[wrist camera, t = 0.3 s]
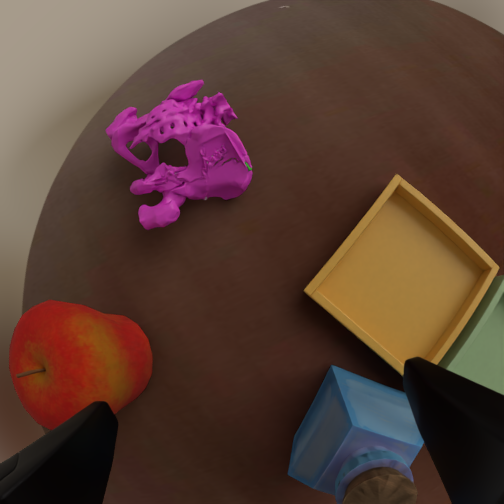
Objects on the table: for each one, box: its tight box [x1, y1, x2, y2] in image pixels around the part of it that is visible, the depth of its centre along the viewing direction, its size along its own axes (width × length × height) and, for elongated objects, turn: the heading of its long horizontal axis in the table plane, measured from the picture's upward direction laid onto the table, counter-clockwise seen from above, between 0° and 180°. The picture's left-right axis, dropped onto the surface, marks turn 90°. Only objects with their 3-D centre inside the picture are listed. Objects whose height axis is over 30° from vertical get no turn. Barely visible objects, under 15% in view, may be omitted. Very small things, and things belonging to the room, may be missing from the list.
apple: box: [9, 300, 153, 430], centre depth 19 cm, size 9×8×12 cm
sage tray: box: [437, 275, 504, 395], centre depth 18 cm, size 11×11×2 cm
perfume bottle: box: [288, 365, 424, 504], centre depth 15 cm, size 6×6×12 cm
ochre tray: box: [304, 174, 499, 376], centre depth 20 cm, size 11×11×2 cm
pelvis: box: [106, 80, 253, 230], centre depth 23 cm, size 12×10×7 cm
